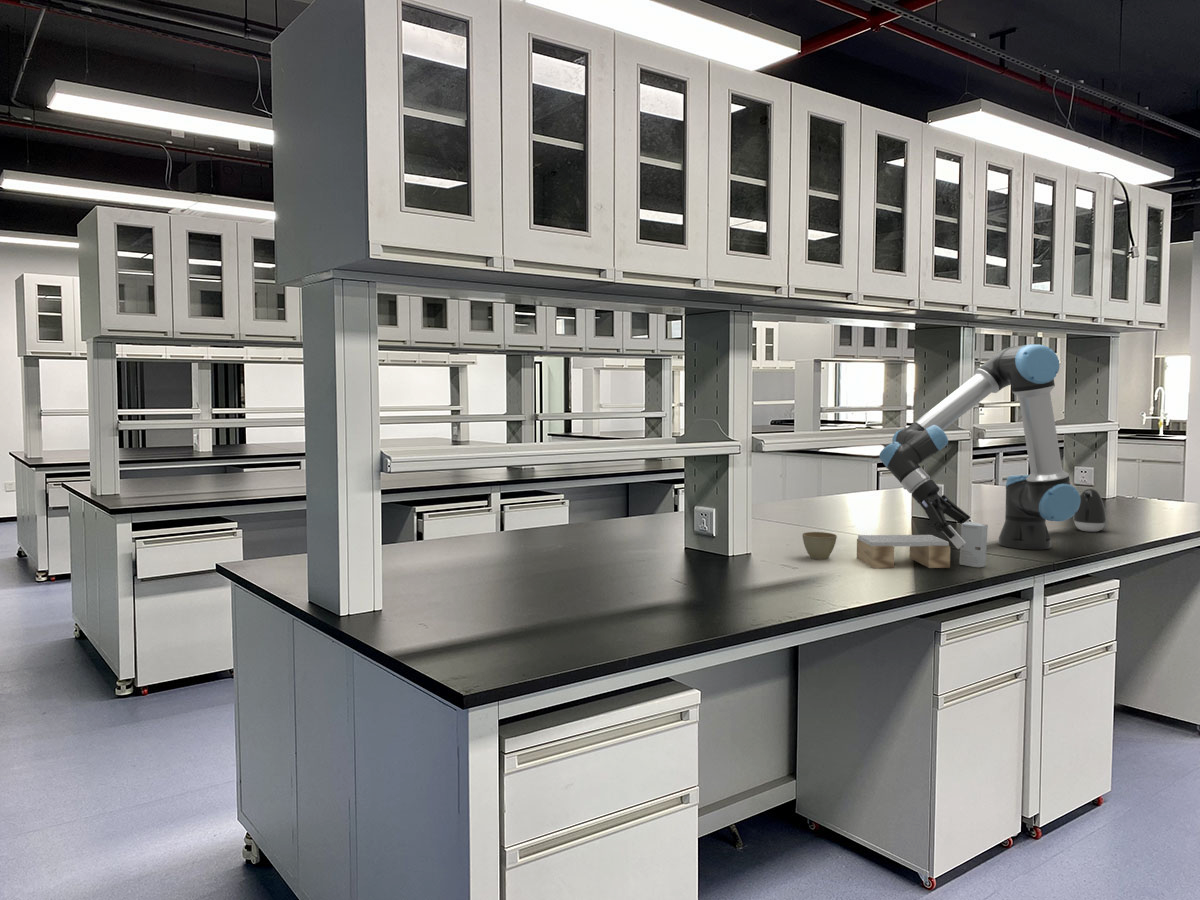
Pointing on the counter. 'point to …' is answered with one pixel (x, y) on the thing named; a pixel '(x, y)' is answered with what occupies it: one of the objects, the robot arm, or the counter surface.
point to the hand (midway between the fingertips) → (971, 543)
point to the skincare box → (973, 544)
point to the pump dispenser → (1090, 512)
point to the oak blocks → (920, 554)
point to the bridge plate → (902, 540)
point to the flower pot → (819, 544)
